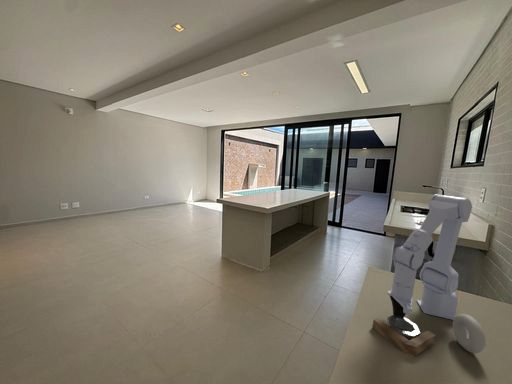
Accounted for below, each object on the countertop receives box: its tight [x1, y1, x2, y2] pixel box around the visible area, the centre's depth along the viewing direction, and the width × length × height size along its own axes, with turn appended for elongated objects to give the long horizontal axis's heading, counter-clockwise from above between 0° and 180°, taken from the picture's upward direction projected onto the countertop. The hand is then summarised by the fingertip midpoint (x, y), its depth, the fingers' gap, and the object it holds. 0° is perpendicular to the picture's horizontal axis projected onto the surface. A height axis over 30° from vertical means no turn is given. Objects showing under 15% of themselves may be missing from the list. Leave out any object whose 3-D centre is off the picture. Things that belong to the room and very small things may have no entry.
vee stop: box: [372, 317, 436, 357], centre depth 65 cm, size 17×9×3 cm, turn 70°
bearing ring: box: [385, 314, 422, 340], centre depth 68 cm, size 8×8×4 cm
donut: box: [452, 313, 487, 354], centre depth 64 cm, size 10×4×10 cm, turn 168°
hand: (397, 319), depth 73 cm, fingers closed
